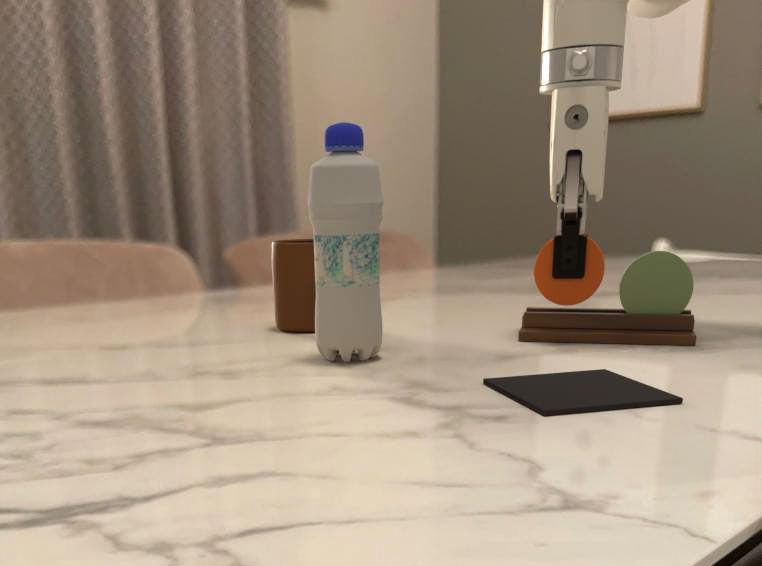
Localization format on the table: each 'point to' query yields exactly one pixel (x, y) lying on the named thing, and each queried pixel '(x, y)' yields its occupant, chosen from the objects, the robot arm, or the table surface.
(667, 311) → the green disc
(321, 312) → the bottle
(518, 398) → the mat
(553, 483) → the table surface
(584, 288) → the orange disc
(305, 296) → the mug
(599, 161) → the robot arm
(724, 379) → the table surface
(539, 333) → the disc rack
